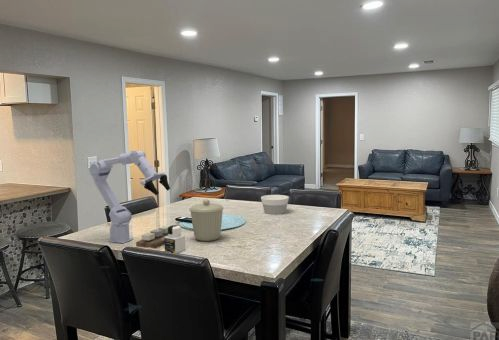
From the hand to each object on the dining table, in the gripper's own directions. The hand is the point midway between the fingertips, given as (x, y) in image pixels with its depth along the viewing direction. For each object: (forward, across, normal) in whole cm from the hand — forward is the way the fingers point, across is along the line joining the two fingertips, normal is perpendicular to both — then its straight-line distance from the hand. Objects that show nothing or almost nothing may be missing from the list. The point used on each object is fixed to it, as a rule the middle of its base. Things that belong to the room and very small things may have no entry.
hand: (163, 191), depth 191 cm
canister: (+30, +16, +12) cm, 36 cm away
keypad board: (+15, -1, +25) cm, 29 cm away
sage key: (+13, +6, +27) cm, 30 cm away
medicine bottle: (+27, -8, +10) cm, 29 cm away
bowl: (+38, +88, +23) cm, 98 cm away
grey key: (+13, -1, +25) cm, 28 cm away
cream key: (+13, -7, +23) cm, 27 cm away
